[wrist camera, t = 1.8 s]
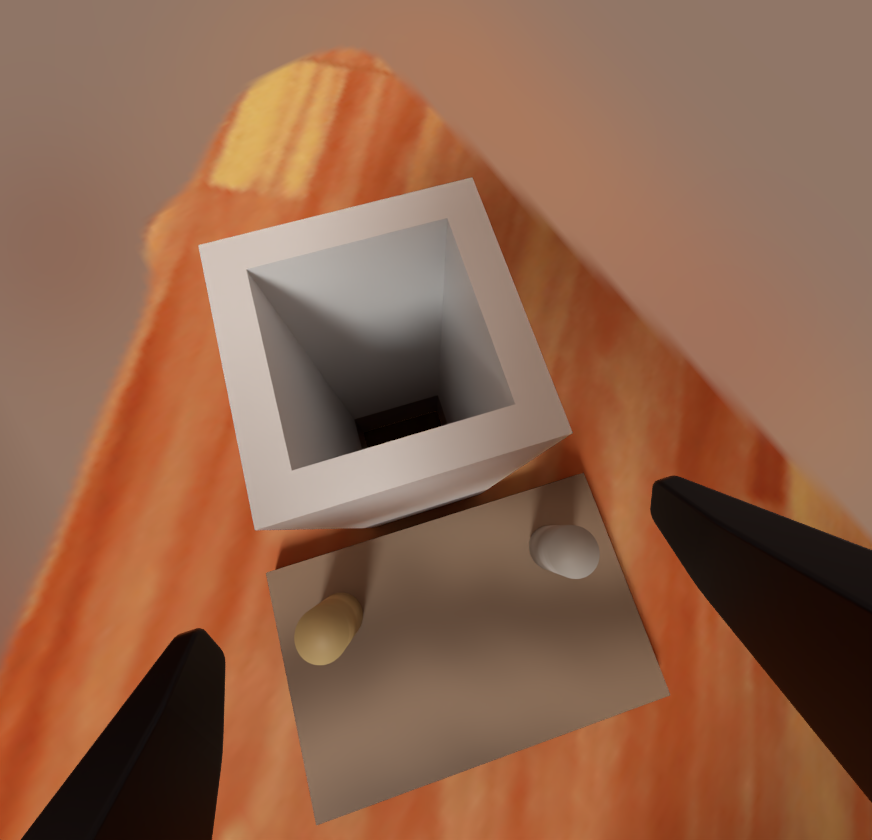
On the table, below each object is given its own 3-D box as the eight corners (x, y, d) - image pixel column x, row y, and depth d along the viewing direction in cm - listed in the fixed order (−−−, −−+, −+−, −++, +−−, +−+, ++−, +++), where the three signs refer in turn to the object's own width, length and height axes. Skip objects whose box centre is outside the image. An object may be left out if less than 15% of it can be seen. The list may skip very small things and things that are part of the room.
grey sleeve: (479, 494, 19) (572, 433, 7) (372, 527, 19) (254, 530, 6) (446, 393, 20) (472, 176, 8) (345, 422, 20) (198, 245, 7)
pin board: (657, 685, 17) (721, 731, 14) (323, 807, 16) (289, 895, 12) (576, 475, 19) (612, 462, 16) (274, 570, 18) (232, 582, 14)
